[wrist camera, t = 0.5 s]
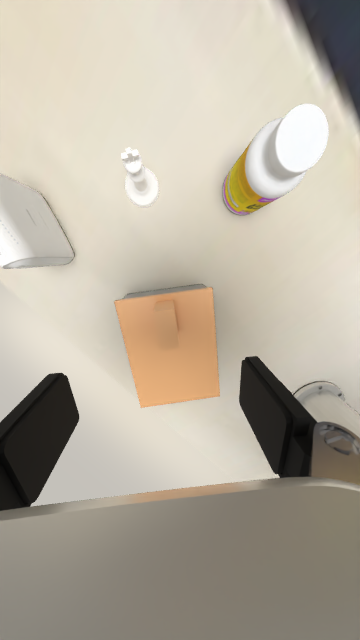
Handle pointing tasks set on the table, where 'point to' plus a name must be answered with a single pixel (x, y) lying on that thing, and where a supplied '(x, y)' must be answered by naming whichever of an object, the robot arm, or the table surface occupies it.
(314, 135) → the supplement bottle
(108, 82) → the table surface
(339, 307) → the table surface
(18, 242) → the photo printer
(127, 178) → the chess piece
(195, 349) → the lid
